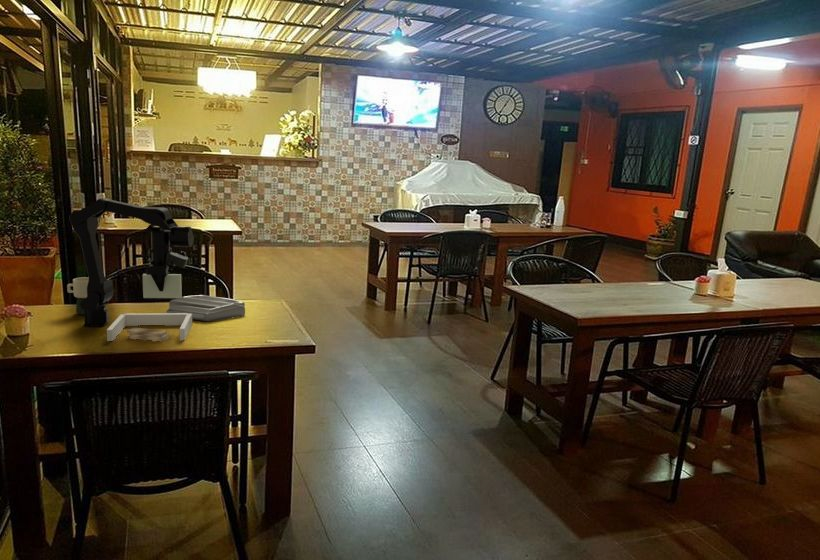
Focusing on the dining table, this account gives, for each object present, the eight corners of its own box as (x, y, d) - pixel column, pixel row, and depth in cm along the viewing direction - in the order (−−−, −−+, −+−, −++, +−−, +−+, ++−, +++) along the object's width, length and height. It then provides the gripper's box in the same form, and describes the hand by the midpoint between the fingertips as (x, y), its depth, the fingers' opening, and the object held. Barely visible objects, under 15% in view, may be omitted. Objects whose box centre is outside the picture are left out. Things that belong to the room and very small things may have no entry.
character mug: (104, 310, 219) (102, 276, 216) (100, 316, 212) (98, 280, 209) (71, 311, 215) (69, 277, 213) (66, 316, 209) (64, 281, 206)
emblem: (244, 291, 240) (245, 308, 214) (244, 304, 242) (245, 322, 215) (171, 292, 233) (163, 309, 206) (171, 305, 234) (163, 324, 207)
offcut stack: (127, 339, 189) (126, 330, 188) (134, 336, 193) (134, 327, 192) (162, 343, 187) (162, 334, 187) (169, 339, 191) (168, 330, 191)
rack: (107, 341, 184) (106, 329, 184) (122, 324, 203) (121, 313, 202) (184, 340, 190) (184, 328, 189) (192, 324, 208) (192, 313, 208)
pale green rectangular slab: (143, 297, 198) (142, 274, 197) (144, 296, 200) (143, 273, 199) (180, 298, 201) (180, 275, 199) (181, 296, 203) (181, 274, 201)
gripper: (181, 250, 190) (182, 297, 193) (190, 242, 208) (190, 285, 211) (144, 249, 187) (146, 296, 191) (156, 241, 205) (157, 284, 208)
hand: (162, 290), depth 200 cm, fingers closed on pale green rectangular slab, 2 cm apart
